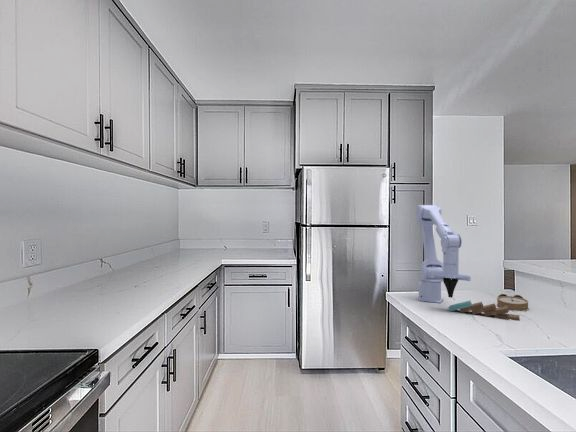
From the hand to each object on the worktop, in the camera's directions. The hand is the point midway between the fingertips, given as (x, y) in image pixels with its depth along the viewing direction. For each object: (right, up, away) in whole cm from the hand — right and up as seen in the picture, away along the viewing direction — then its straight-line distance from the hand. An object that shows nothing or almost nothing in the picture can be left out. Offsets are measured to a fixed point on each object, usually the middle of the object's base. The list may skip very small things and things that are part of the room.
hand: (450, 296), depth 152 cm
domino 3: (+11, -5, -7) cm, 14 cm away
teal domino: (0, -5, 0) cm, 5 cm away
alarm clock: (+29, -6, +7) cm, 31 cm away
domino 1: (+3, -5, -2) cm, 6 cm away
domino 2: (+7, -5, -4) cm, 10 cm away
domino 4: (+13, -5, -8) cm, 17 cm away
